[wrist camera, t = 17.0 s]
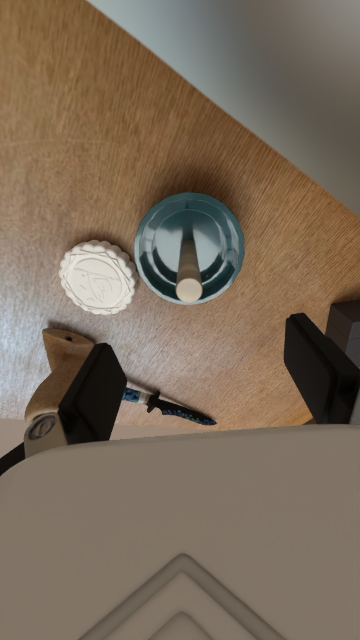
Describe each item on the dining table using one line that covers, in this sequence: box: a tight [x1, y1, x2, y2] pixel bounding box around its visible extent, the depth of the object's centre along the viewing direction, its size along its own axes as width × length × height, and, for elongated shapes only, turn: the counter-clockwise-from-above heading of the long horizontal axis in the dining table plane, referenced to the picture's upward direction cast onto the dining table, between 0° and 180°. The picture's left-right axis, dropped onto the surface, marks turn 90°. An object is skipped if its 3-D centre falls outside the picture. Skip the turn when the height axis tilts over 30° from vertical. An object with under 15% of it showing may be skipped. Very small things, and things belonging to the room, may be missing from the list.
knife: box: [122, 387, 217, 425], centre depth 51 cm, size 31×3×4 cm, turn 54°
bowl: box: [134, 192, 245, 305], centre depth 31 cm, size 14×14×6 cm
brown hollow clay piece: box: [25, 328, 94, 426], centre depth 39 cm, size 15×12×15 cm
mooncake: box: [59, 240, 138, 315], centre depth 34 cm, size 12×12×4 cm
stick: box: [176, 240, 203, 302], centre depth 26 cm, size 2×2×16 cm
